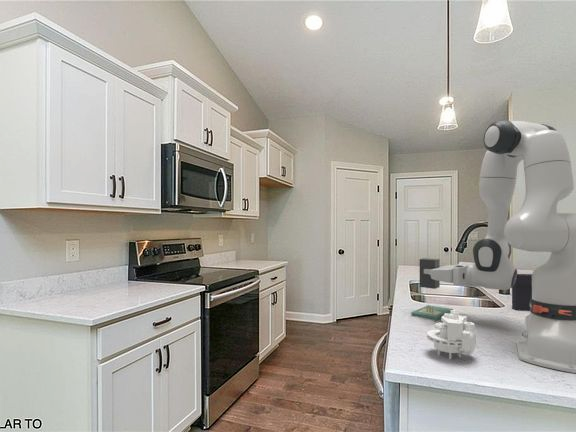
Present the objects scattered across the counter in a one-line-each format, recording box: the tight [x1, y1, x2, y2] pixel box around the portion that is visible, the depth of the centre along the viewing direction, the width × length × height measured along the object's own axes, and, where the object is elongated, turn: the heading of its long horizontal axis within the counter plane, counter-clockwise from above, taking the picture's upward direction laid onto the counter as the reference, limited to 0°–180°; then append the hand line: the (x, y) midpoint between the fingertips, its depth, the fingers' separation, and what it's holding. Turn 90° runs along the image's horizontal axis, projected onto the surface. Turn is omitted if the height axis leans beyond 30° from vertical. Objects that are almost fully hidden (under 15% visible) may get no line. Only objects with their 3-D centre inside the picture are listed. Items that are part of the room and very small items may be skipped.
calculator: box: [511, 273, 532, 312], centre depth 148 cm, size 11×4×15 cm, turn 84°
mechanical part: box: [426, 309, 477, 360], centre depth 95 cm, size 11×12×12 cm
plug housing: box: [419, 257, 441, 290], centre depth 138 cm, size 5×6×11 cm
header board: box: [410, 304, 453, 321], centre depth 140 cm, size 18×10×3 cm, turn 138°
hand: (427, 270), depth 139 cm, fingers closed on plug housing, 5 cm apart
